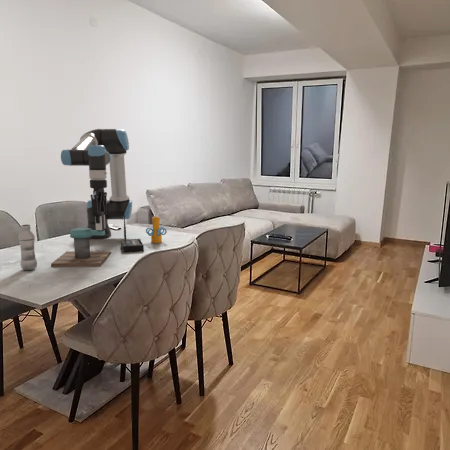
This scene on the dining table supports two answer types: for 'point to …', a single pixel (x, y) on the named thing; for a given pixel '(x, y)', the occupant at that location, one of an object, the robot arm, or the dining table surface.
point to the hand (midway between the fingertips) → (100, 229)
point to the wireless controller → (131, 243)
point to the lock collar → (87, 231)
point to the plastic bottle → (27, 248)
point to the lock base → (83, 262)
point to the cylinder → (156, 230)
